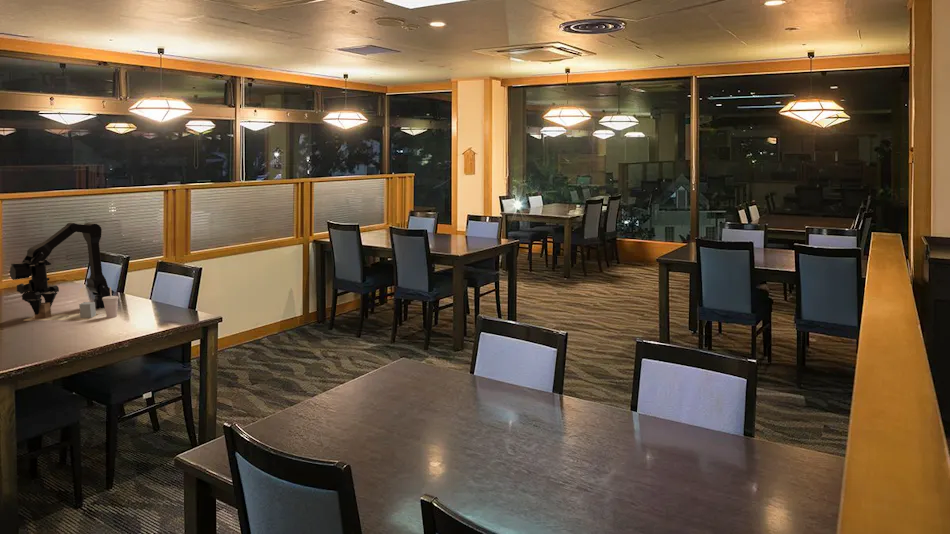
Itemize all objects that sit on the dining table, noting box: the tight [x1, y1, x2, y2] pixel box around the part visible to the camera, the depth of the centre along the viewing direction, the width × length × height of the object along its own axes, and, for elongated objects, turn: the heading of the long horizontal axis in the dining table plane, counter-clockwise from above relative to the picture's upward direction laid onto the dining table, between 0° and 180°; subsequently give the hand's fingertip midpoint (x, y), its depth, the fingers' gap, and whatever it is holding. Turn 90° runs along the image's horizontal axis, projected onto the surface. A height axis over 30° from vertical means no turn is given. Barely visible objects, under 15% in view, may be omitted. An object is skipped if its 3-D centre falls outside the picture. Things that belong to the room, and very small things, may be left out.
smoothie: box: [102, 286, 119, 319], centre depth 310 cm, size 6×6×14 cm
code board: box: [22, 313, 100, 322], centre depth 311 cm, size 27×12×1 cm, turn 93°
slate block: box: [78, 301, 97, 319], centre depth 311 cm, size 4×4×6 cm
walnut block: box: [33, 302, 52, 319], centre depth 310 cm, size 4×4×6 cm
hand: (42, 312), depth 310 cm, fingers open, 9 cm apart
